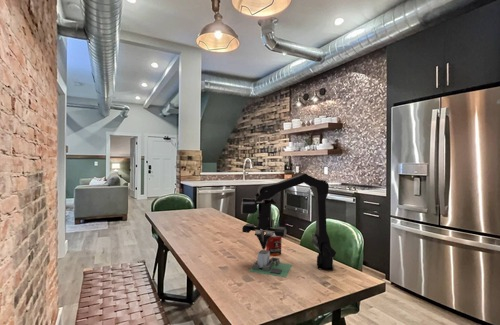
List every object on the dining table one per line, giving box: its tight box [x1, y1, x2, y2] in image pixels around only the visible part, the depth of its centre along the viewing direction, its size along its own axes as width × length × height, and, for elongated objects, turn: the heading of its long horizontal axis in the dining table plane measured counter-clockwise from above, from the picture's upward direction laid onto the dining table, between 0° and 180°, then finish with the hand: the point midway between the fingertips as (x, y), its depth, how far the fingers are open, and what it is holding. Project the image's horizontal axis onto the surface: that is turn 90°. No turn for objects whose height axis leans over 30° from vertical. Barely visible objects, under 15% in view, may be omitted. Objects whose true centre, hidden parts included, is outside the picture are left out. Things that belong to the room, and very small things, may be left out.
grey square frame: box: [252, 259, 273, 272], centre depth 123 cm, size 7×8×2 cm
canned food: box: [265, 233, 282, 257], centre depth 142 cm, size 8×8×11 cm
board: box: [248, 256, 293, 278], centre depth 123 cm, size 16×15×3 cm
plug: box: [256, 249, 271, 268], centre depth 123 cm, size 4×6×6 cm
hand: (263, 249), depth 123 cm, fingers closed
